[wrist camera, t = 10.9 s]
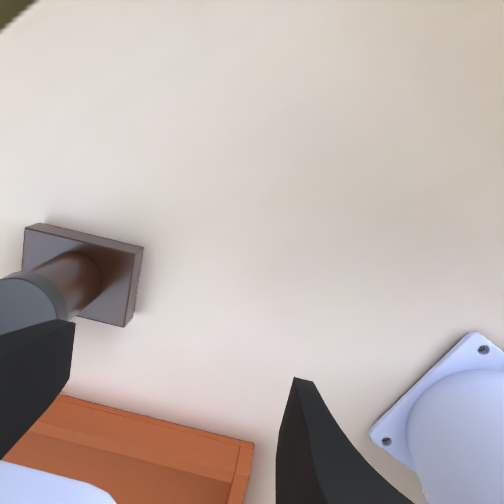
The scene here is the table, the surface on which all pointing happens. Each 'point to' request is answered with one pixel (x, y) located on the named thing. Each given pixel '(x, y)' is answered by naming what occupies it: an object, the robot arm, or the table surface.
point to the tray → (135, 455)
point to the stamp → (70, 279)
